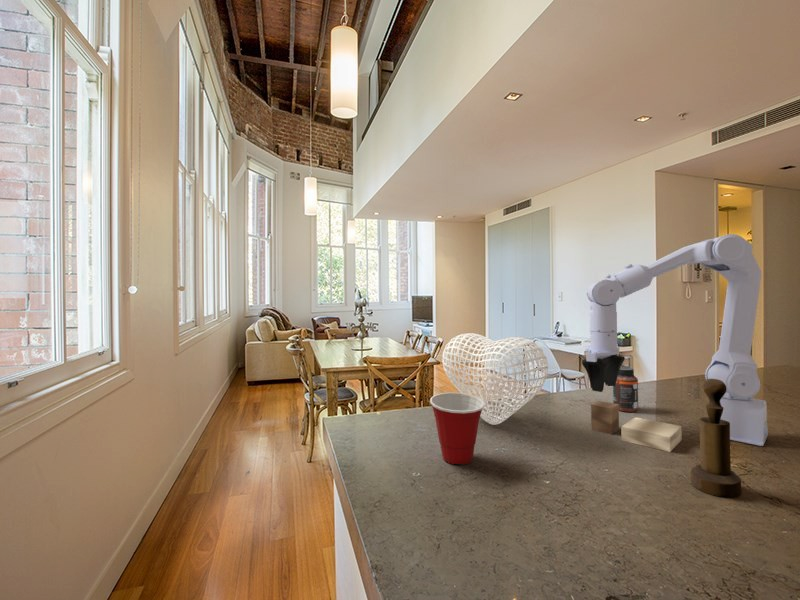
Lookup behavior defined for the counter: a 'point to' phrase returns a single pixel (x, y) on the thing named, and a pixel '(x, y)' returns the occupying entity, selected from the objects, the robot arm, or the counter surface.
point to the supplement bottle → (626, 390)
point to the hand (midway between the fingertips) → (604, 388)
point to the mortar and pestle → (715, 448)
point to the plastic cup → (457, 424)
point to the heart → (490, 346)
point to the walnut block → (605, 417)
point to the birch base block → (651, 434)
